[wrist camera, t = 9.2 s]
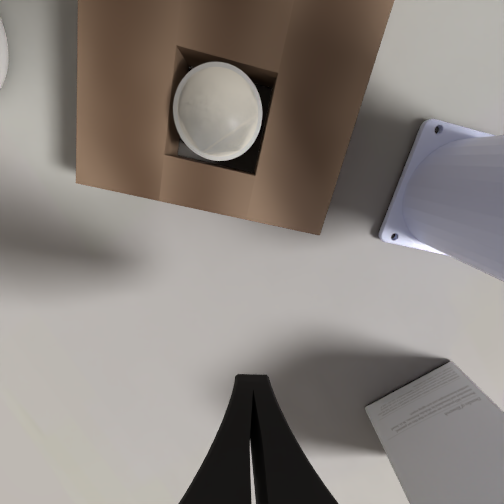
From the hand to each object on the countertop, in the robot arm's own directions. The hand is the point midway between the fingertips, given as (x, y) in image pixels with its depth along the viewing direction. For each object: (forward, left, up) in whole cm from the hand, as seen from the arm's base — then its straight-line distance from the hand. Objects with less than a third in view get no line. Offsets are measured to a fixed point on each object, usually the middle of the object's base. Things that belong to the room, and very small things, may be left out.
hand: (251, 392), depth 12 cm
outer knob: (+4, -11, -9) cm, 15 cm away
